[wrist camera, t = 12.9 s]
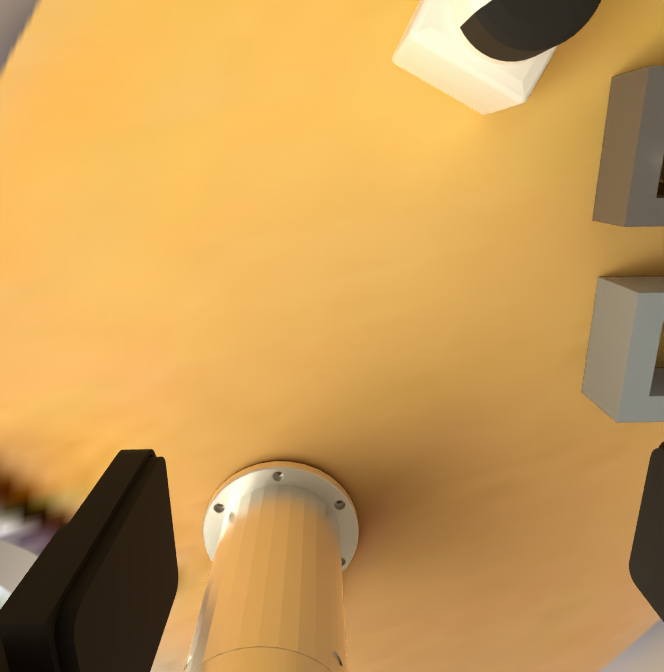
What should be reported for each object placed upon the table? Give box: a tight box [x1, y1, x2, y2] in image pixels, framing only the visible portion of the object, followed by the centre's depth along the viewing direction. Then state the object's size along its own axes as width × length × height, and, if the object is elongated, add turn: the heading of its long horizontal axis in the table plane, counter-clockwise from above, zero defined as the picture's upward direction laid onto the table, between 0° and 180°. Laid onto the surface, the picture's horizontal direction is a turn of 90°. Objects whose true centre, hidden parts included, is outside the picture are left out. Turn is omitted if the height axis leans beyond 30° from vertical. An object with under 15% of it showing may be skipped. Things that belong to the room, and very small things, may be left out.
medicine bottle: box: [392, 0, 601, 115], centre depth 27 cm, size 7×7×12 cm
